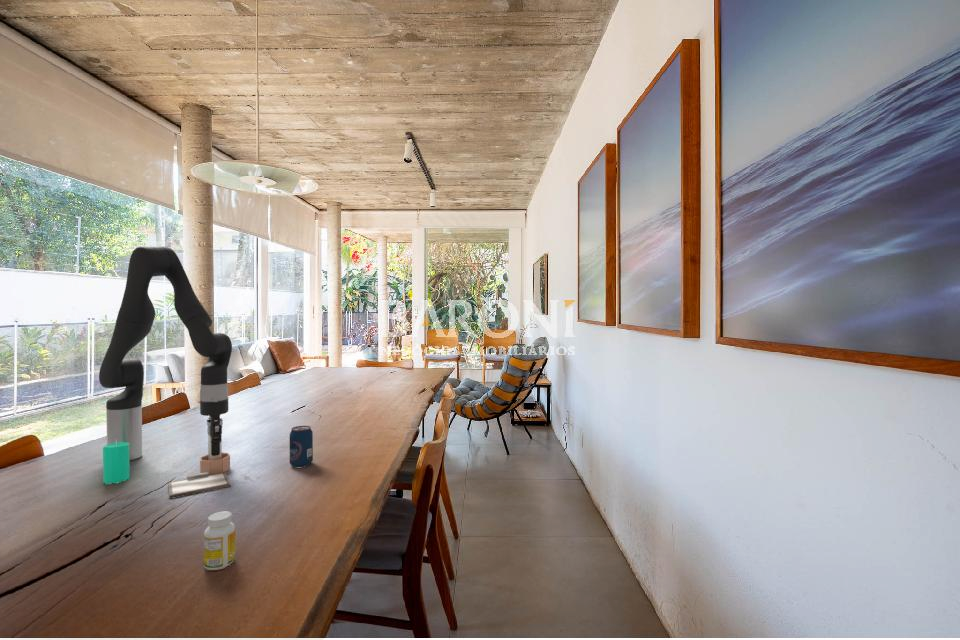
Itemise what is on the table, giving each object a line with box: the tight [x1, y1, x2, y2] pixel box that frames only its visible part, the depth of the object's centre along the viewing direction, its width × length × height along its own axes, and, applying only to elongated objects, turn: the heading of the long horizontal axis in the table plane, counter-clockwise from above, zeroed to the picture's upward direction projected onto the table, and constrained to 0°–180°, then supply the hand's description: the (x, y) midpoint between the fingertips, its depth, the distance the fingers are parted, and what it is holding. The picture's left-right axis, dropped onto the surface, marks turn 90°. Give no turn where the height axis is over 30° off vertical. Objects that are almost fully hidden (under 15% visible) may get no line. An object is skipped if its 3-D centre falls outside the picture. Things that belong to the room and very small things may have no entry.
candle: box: [102, 442, 131, 484], centre depth 130 cm, size 6×6×12 cm
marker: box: [207, 427, 223, 461], centre depth 138 cm, size 4×4×12 cm
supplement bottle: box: [203, 510, 236, 569], centre depth 87 cm, size 5×5×10 cm
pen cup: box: [199, 452, 231, 475], centre depth 138 cm, size 8×8×4 cm
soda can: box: [289, 425, 314, 468], centre depth 143 cm, size 7×7×12 cm
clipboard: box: [168, 472, 231, 499], centre depth 126 cm, size 11×14×2 cm
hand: (214, 453), depth 138 cm, fingers closed on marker, 3 cm apart
